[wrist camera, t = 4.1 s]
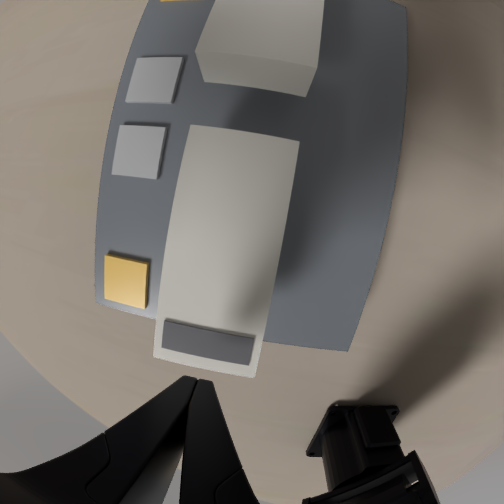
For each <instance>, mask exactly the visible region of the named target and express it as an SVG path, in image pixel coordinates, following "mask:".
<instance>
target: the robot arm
mask: <svg viewBox="0 0 504 504" xmlns="http://www.w3.org/2000/svg"><path fill="white" fill-rule="evenodd" d="M333 412H334V413H333ZM398 413H399V408H398V406H362V407H358V406H333V407H330V408H329V409H328V410H327V412H326V414H325V416H324V418H323V420H322V422H321V424H320V426H319V428H318V430H317V432H316V433H315V435H314V437H313V439H312V441H311V443H310V445H309V446H308V448H307V450H306V455H307V456H308V457H322V459H323V464H324V470H325V475H326V481H327V487H328V492H327V493H324V494H321V495H318V496H315V497H312V498H310V497H309V498H306V499H303V500H302V504H440V502H439V499H438V496H437V494H436V491H435V488H434V486H433V484H432V482H431V480H430V477H429V475H428V473H427V471H426V469H425V467H424V465H423V463H422V462H421V460H420V458H419V456H418V455H417V453H416V451H415V450H414V451H412V452H410V453H408V455H407V456H404V454H403V451H402V449H401V447H400V443H401V441H400V439H399V436H398V434H397V432H396V430H395V428H394V426H393V421H394V419H395V418H396V416H397V415H398ZM104 433H105V434H104ZM104 433H101V434H100V435H98V436H97V437H95V438H93V439H92V440H90V441H88V442H87V443H85V444H83V445H82V446H80V447H78V448H76V449H74V450H72V451H70V452H68V453H66V454H64V455H62V456H59V457H57V458H54V459H52V460H50V461H47V462H45V463H42V464H40V465H37V466H35V467H32V468H29V469H27V470H24V471H19V472H14V473H0V504H162V503H163V501H164V498H165V496H166V493H167V491H168V488H169V485H170V483H171V481H172V478H173V476H174V473H175V470H176V468H177V466H178V463H179V461H180V458H181V456H182V453H183V460H182V472H181V484H180V499H179V504H260V503H259V502H258V500H257V498H256V497H255V495H254V493H253V490H252V488H251V486H250V484H249V482H248V480H247V477H246V475H245V472H244V470H243V469H242V465H241V462H240V460H239V457H238V454H237V452H236V449H235V446H234V444H233V441H232V438H231V435H230V432H229V430H228V427H227V424H226V421H225V418H224V415H223V412H222V409H221V406H220V403H219V400H218V397H217V394H216V391H215V388H214V384H213V382H212V381H209V380H204V379H199V380H197V378H195V377H190V376H185V375H184V376H182V377H181V378H179V379H178V380H177V381H175V382H174V383H173V384H171V385H170V386H169V387H167V388H166V389H165V390H163V391H162V392H160V393H159V394H158V395H156V396H155V397H154V398H152V399H151V400H149V401H148V402H147V403H145V404H144V405H142V406H141V407H139V408H138V409H137V410H135V411H134V412H132V413H131V414H129V415H128V416H127V417H125V418H124V419H122V420H121V421H119V422H118V423H116V424H115V425H113V426H112V427H110V428H109V429H107V430H106V431H105V432H104ZM417 480H418V482H416V483H415V484H413V485H411V483H413V482H415V481H417Z"/></svg>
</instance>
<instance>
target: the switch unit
mask: <svg viewBox="0 0 504 504" xmlns="http://www.w3.org/2000/svg"><path fill="white" fill-rule="evenodd" d="M214 3H215V0H149V1H148V3H147V6H146V8H145V10H144V13H143V15H142V18H141V20H140V23H139V25H138V28H137V30H136V33H135V36H134V39H133V41H132V44H131V47H130V50H129V53H128V56H127V59H126V62H125V66H124V69H123V72H122V76H121V79H120V83H119V87H118V90H117V94H116V98H115V102H114V107H113V111H112V115H111V120H110V125H109V130H108V135H107V140H106V146H105V152H104V158H103V164H102V172H101V179H100V188H99V197H98V208H97V221H96V239H95V302H96V303H98V304H101V305H104V306H108V307H111V308H115V309H118V310H122V311H125V312H129V313H133V314H136V315H140V316H144V317H148V318H152V319H156V317H157V307H158V298H159V290H160V282H161V274H162V267H163V260H164V253H165V246H166V240H167V234H168V228H169V222H170V217H171V211H172V206H173V200H174V195H175V190H176V185H177V181H178V176H179V171H180V167H181V162H182V158H183V153H184V149H185V145H186V141H187V137H188V133H189V129H190V125H201V126H210V127H218V128H225V129H232V130H239V131H246V132H252V133H258V134H264V135H269V136H275V137H280V138H285V139H290V140H295V141H299V142H300V143H299V149H298V156H297V162H296V168H295V174H294V180H293V186H292V191H291V197H290V203H289V209H288V214H287V220H286V225H285V231H284V236H283V242H282V247H281V252H280V258H279V263H278V268H277V273H276V278H275V283H274V288H273V294H272V298H271V303H270V308H269V313H268V318H267V323H266V328H265V332H264V337H263V341H266V342H272V343H279V344H286V345H294V346H301V347H309V348H318V349H327V350H337V351H348V350H349V348H350V345H351V342H352V340H353V337H354V334H355V331H356V329H357V326H358V323H359V320H360V317H361V314H362V311H363V308H364V305H365V302H366V299H367V296H368V293H369V289H370V286H371V283H372V280H373V276H374V273H375V269H376V266H377V262H378V258H379V254H380V251H381V247H382V243H383V239H384V235H385V231H386V226H387V222H388V217H389V213H390V208H391V203H392V198H393V193H394V188H395V182H396V176H397V170H398V164H399V157H400V150H401V143H402V135H403V126H404V116H405V104H406V89H407V64H408V38H407V13H406V7H404V6H402V5H400V4H397V3H395V2H392V1H390V0H324V10H323V20H322V30H321V40H320V49H319V58H318V67H317V70H316V73H315V75H314V78H313V80H312V83H311V85H310V88H309V90H308V93H307V95H306V97H302V96H297V95H293V94H288V93H283V92H277V91H272V90H266V89H260V88H253V87H246V86H238V85H230V84H221V83H210V82H204V79H203V76H202V73H201V70H200V66H199V63H198V60H197V57H196V54H195V49H196V47H197V44H198V41H199V39H200V36H201V34H202V31H203V29H204V26H205V24H206V21H207V19H208V16H209V14H210V12H211V9H212V7H213V5H214Z"/></svg>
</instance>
